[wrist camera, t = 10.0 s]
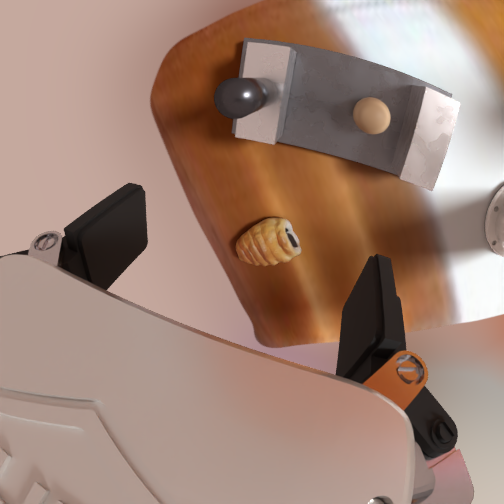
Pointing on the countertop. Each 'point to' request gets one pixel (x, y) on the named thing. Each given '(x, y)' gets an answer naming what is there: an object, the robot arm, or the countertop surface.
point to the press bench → (342, 105)
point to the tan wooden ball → (371, 115)
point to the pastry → (268, 243)
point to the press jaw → (259, 93)
